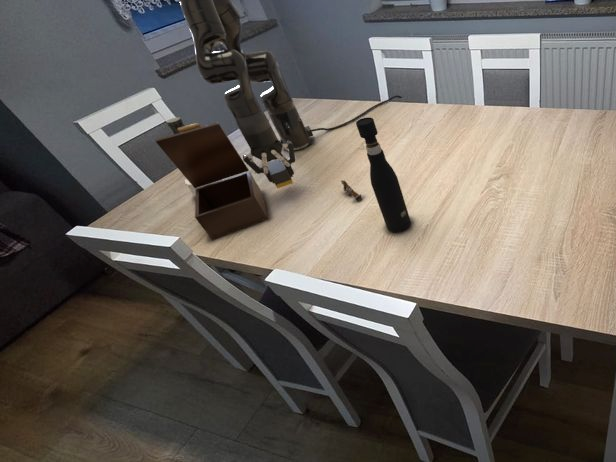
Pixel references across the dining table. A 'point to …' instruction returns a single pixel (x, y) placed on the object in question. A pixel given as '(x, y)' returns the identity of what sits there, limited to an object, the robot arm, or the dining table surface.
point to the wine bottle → (384, 180)
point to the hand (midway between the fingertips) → (282, 178)
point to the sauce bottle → (175, 124)
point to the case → (229, 205)
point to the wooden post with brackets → (350, 190)
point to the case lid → (203, 153)
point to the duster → (279, 173)
